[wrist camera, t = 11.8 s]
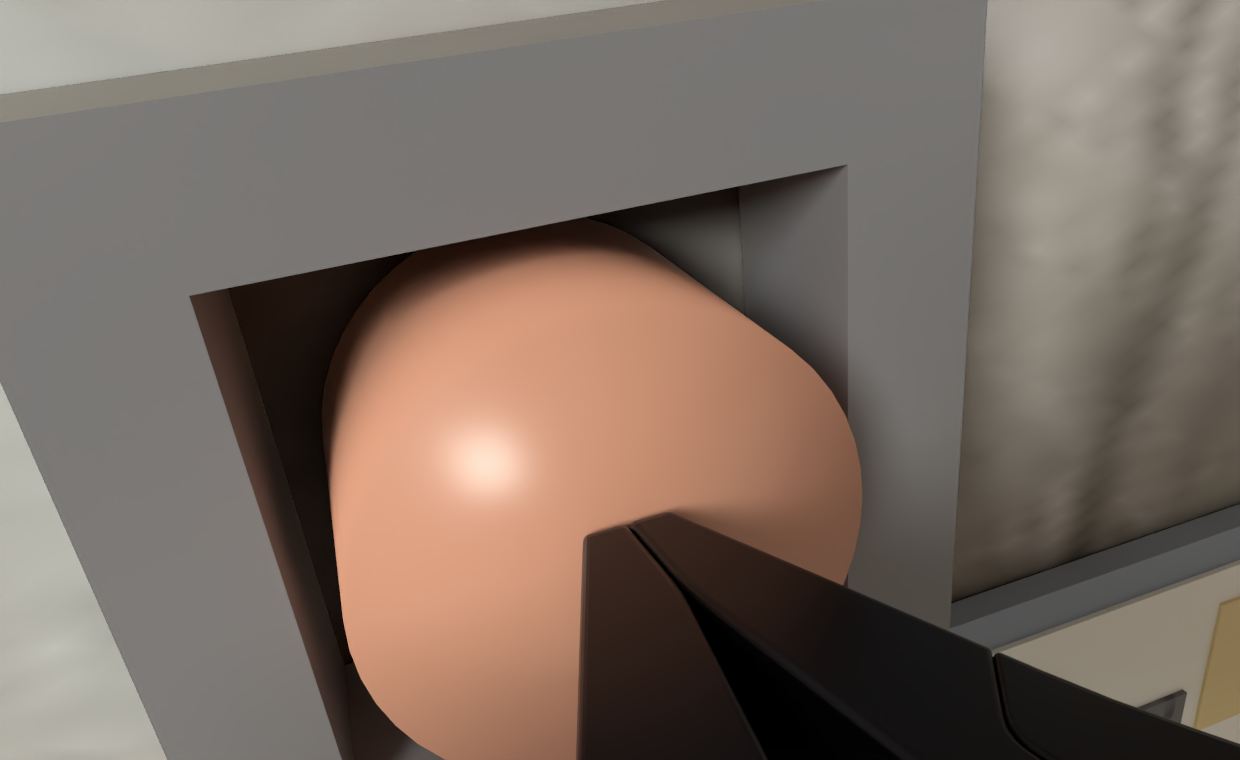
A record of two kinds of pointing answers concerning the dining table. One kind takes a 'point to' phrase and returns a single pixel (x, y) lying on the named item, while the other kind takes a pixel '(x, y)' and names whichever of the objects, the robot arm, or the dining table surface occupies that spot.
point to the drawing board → (1132, 622)
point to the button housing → (444, 214)
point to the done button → (550, 465)
